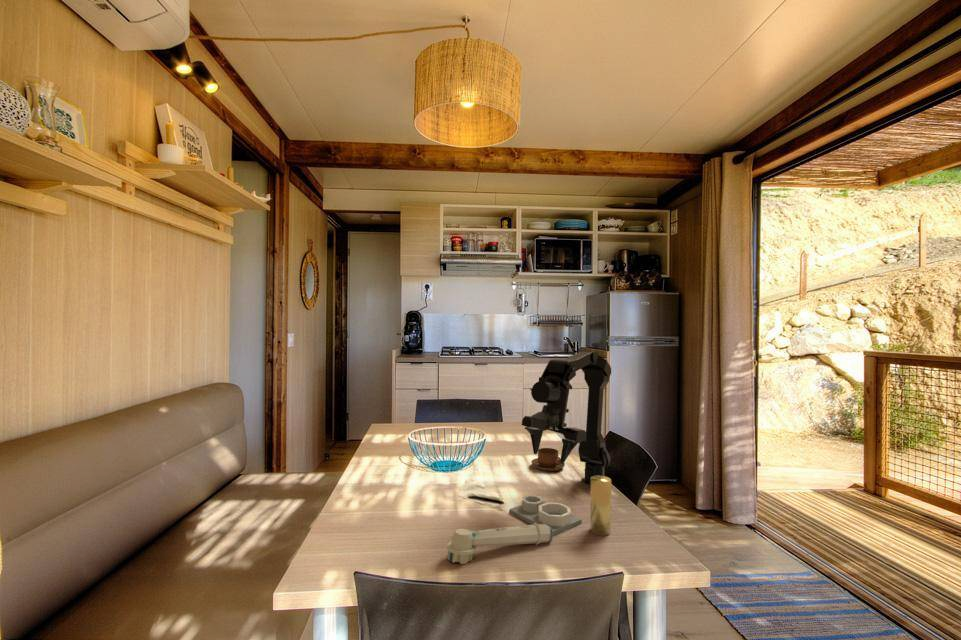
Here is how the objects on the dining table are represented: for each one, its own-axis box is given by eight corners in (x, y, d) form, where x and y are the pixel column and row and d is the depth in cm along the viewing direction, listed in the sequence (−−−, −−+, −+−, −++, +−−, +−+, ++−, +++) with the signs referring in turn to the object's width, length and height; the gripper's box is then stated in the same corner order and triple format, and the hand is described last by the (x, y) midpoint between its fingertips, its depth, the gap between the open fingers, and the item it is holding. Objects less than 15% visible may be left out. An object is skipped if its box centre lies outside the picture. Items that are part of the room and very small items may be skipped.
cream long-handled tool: (555, 528, 101) (454, 533, 91) (551, 558, 100) (450, 565, 90) (543, 519, 105) (447, 522, 96) (540, 547, 105) (442, 553, 95)
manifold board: (537, 502, 124) (537, 490, 124) (581, 523, 112) (581, 509, 112) (509, 512, 117) (509, 499, 117) (553, 535, 105) (553, 521, 105)
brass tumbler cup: (598, 524, 111) (598, 474, 111) (615, 531, 107) (615, 479, 107) (586, 529, 108) (586, 478, 108) (602, 537, 104) (603, 484, 104)
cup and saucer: (569, 466, 157) (569, 449, 157) (557, 475, 147) (557, 457, 147) (539, 460, 163) (539, 444, 164) (525, 469, 153) (525, 452, 153)
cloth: (450, 482, 142) (450, 475, 142) (490, 479, 145) (491, 472, 145) (464, 516, 116) (465, 508, 116) (513, 512, 119) (513, 504, 119)
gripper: (514, 395, 123) (505, 450, 122) (569, 409, 110) (560, 470, 109) (537, 397, 131) (528, 449, 130) (591, 410, 118) (582, 468, 117)
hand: (548, 458), depth 121 cm, fingers open, 9 cm apart
